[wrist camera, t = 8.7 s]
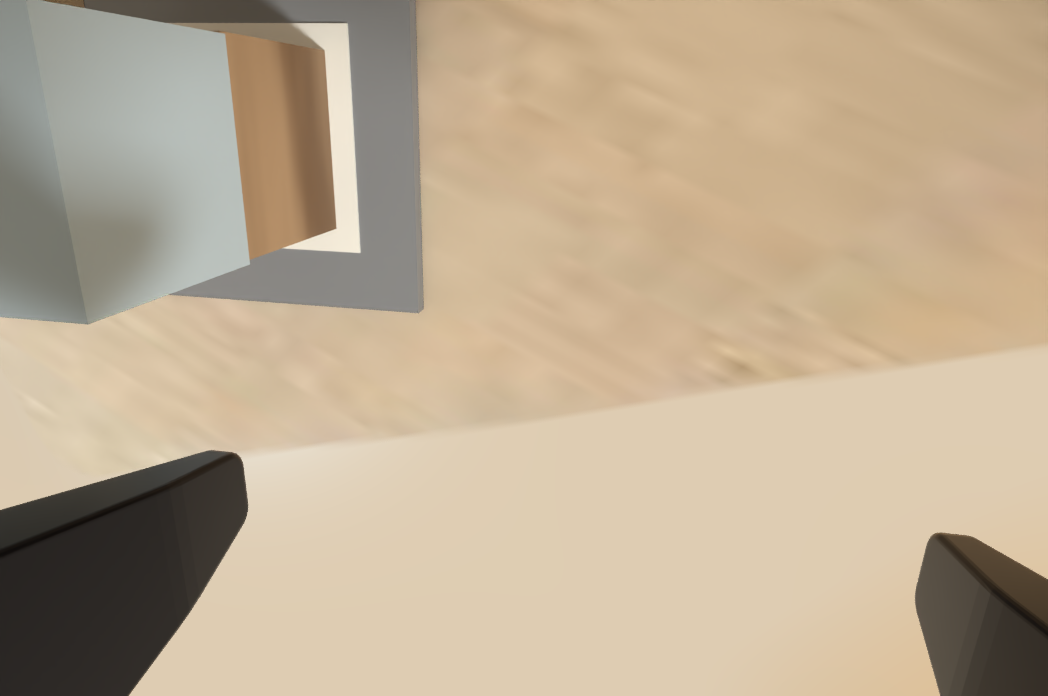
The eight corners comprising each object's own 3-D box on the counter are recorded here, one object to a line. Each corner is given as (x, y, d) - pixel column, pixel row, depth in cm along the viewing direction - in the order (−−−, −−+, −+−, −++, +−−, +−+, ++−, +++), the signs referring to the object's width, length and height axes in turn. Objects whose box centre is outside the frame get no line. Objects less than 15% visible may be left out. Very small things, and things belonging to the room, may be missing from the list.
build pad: (413, -48, 19) (406, -53, 18) (423, 308, 22) (417, 313, 21) (89, -43, 20) (73, -47, 20) (142, 288, 24) (131, 292, 23)
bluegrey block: (250, 264, 16) (88, 324, 12) (65, 252, 17) (-155, 303, 13) (225, 33, 15) (25, -2, 10) (22, 32, 16) (-248, -2, 11)
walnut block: (324, 50, 19) (219, 30, 15) (336, 228, 21) (245, 261, 16) (164, 48, 20) (17, 29, 16) (188, 220, 22) (61, 249, 17)
